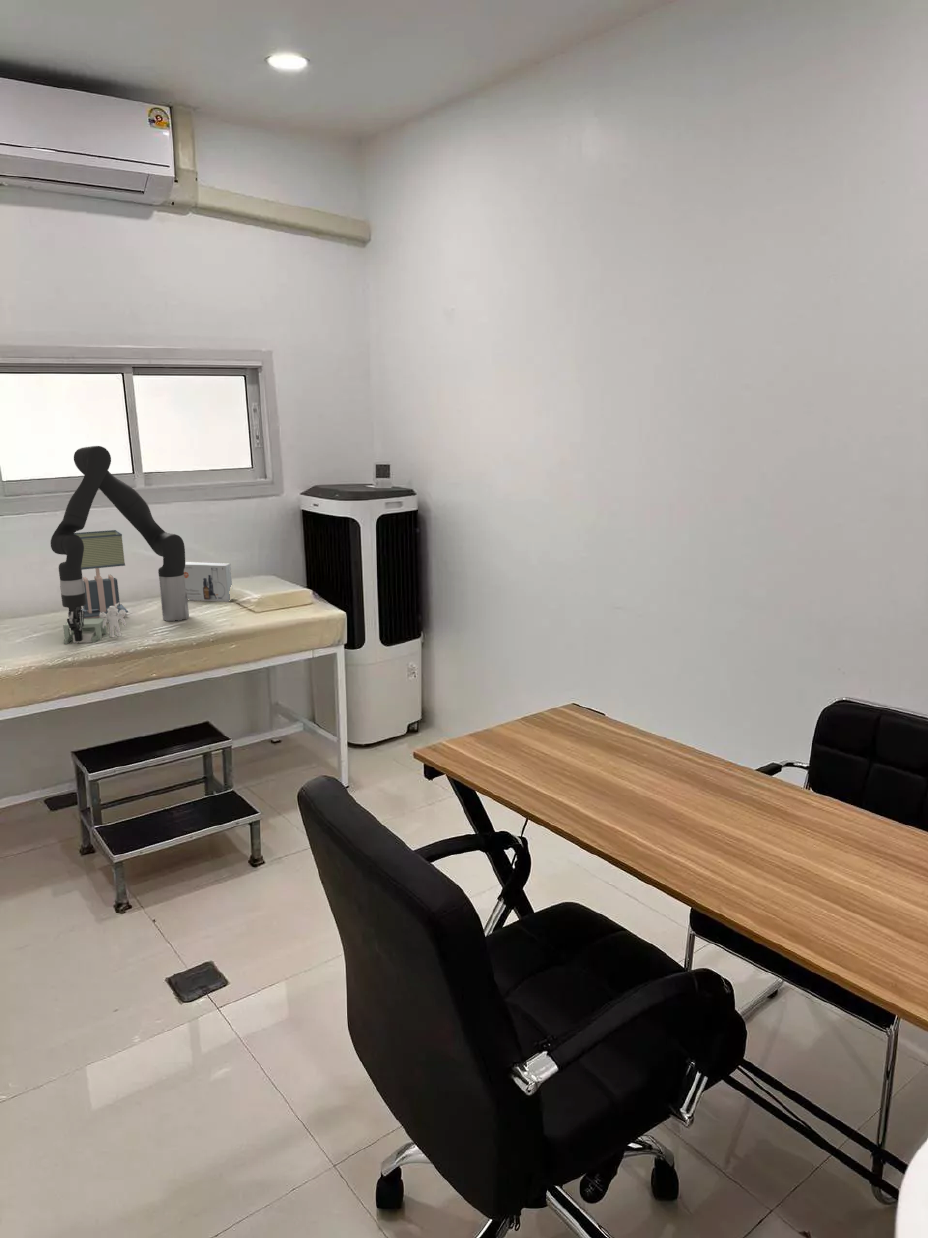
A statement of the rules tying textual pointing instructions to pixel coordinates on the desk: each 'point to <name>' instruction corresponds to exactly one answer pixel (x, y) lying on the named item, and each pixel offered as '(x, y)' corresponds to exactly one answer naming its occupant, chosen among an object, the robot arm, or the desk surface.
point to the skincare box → (207, 581)
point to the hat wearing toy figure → (113, 619)
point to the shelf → (88, 623)
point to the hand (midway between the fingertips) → (79, 640)
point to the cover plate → (86, 635)
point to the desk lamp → (99, 554)
